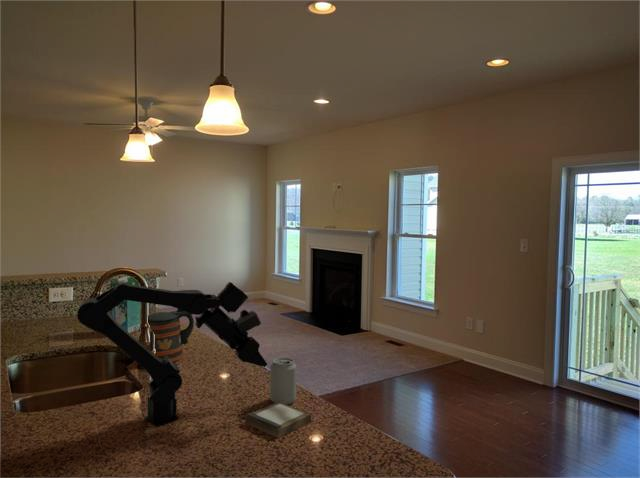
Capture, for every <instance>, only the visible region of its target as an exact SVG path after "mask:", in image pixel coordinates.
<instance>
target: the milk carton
mask: <svg viewBox="0 0 640 478" xmlns="http://www.w3.org/2000/svg"><path fill="white" fill-rule="evenodd" d="M133 277H134V276H132V277H131V276H128V275H123V276H121V277H119V278H118V279H115V280H114V281H112V282H110V283H109V290H110V289H112V288H113V287H115V286H116V285H117V284H119V283H127V284H131V285H137V286H139V284H138V282H137V281H136V280H135V279H134V278H133ZM109 312H110V313H111V315H112V316H113V318H114V319H115V321H116V322H117V323H118V324H119V325H121V326H122V327H123V328H124V329H125V330H126V331H127V332H129V333H130V332H132V331H135V330H138V329H139V327H140V328H141V302H136V301H129V300H124V301H123V302H121V303H120V304H119V305H117V306H116V307H115V308H113V309H112V310H111V311H109Z"/></svg>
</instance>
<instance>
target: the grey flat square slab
mask: <svg viewBox="0 0 640 478" xmlns="http://www.w3.org/2000/svg"><path fill="white" fill-rule="evenodd" d="M244 422H245V423H244V424H246V425H248V426H250V427H252V428H255V429H257V430H259V431H261V432H263V433H266V434H267V435H270V436H272V437H275V438H277V439H279V438H281V437H283V436H286V435H288V434H290V433H291V432H294V431H296V430H298V429H300V428H301V427H304V426H306V425H307V424H310V423H311V422H312V413H309V412H306V411H303V410H300V409H299V408H298V409H297V408H295V407H293V406H290V405H289V404H288V405H285V404H282V403H280V402H277V403H271V404H270V405H268V406H265V407H264V408H261V409H258V410H256V411H253V412H249V413H246V415H245V419H244Z"/></svg>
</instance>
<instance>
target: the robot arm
mask: <svg viewBox="0 0 640 478" xmlns="http://www.w3.org/2000/svg"><path fill="white" fill-rule="evenodd" d="M248 299H249V296H248V295H247V294H246V293H245V292H244V291H243V290H241V289H240V288H239V287H237V286H236V285H235V284H234V283H233V282H231V281H229V282H227V283H226V285H225V286H224V288H223V289H222V290H221V291H220V292H219V293H218V294H217V295H216V294H206V293H204V292H203V291H201V290H198V289H183V290H182V289H181V290H168V289H163V288H155V287H150V286H144V285H143V286H142V285H140V286H137V285H131V284H127V283H119V284H117V285H116V286H115V287H113V288H112V289H110V288H109V289H108V290H106V291H104V292H103V293H101V294H98V296H96V297H91V298H90V297H89V298H87V299H84V300H83V301H82V302H81V303H80V304H79V307H78V310H77V313H76V315H77V316H76V317H77V320H78V322H79V323H80V324H82V325H83V326H84V327H86V328H89V329H90V330H92V331H94V332H95V333H98V334H101V335H103V336H105V337H106V338H108V340H110V341H111V342H112V343H113V344H114V345H116V346H117V347H118V348H119V349H120V350H121V351H123V352H124V353H125V354H126V355H128V356H129V357H130V358H131V359H132V360H133V361H135V362H136V363H137V364H138V365H140V367H142V368H143V369H144V370H145V371H146V372H147V374H148V375H149V376H150V377H151V379H152V381H150V383H148V389H149V394H150V396H148V397H147V406H146V408H147V409H146V410H147V413H146V414H147V415H146V416H145V417H143V419H144V421H146V422H148V423H149V424H151V425H153V426H155V427H160V426H162V425H163V426H164V425H165V424H168V423H170V422H173V421H176V420H179V416H178V415H177V411H178V409H177V406H178V405H177V403H178V402H177V398H176V392H178V391H179V389H180V388H181V387H182V384H183V378H182V375H181V371H180V370H181V369H180V367H179V366H178V363H175V362H172V361H171V360H170V359H169V358H168V356H165V358H164V359H161V358H158V357H156V356H155V355H154V354H153V353H152V352H150V351H149V350H148V349H147V348H146V347H145V346H144V345H143V343H141V341H140V340H138V339H137V338H136V337H134V336H133V334H130V333H129V332H127V331H126V330H125V329H124V328H123V327H122V326H121V325H119V324H118V323H117V322H116V321H115V319H114V318H113V316H112V315H111V313H110V311H111V310H112V309H113V308H115V307H116V306H117V305H119V304H120V303H121V302H123V301H124V300H129V301H136V302H140V303H144V304H152V305H160V306H167V307H172V308H175V309H177V310H178V309H180V310H182V311H185V312H188V313H191V314H193V315H195V317H194V318H195V323H194V326H196V328H197V329H200V328H201V327H203V325H205V326H206V327H207V328H208V329H209V330H210V331H212V332H213V333H214V334H215V335H217V337H218V338H219V339H220V340H221V341H223V342H224V343H225V344H226V345H227V346H228V347H229V348H230V349H231V350H232V351H233V350H235V353H234V355H236V357H237V359H239V360H240V361H241V362H243V363H248V364H253V365H256V366H259V367H263V368H265V367H266V366H267V365H268V363H267V361H266V360H265V359H264V357H263V356H262V354H261V352H260V351H259V348H260V343H259V341H257V340H256V339H255V338H254V337H253V336H249V332H248V331H250V330H252V329H254V328H256V327H259V326H260V325H261V324H262V322H261V320H260V318H259V316H258V313H256V312H255V311H253V310H250V311H248V310H246V309H243V310H240V313H239V314H240V316H239V317H238V318H237V319H236V320H235V319H234V318H233V317H232V318H231V317H230V316H229V315H228V314H231V313H236V312H237V311H238V310H239V308H241V306H242V305H243V304H244V303H245V302H246V301H247V300H248ZM220 307H222V308H223V309H224V310H225V311H226V312H227V313H228V314H226V313H225V312H224V310H222V309H221V308H220Z"/></svg>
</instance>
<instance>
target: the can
mask: <svg viewBox="0 0 640 478" xmlns="http://www.w3.org/2000/svg"><path fill="white" fill-rule="evenodd" d="M269 367H270V369H269V370H270V376H269V377H270V378H269V379H270V380H269V381H270V383H269V384H270V385H269V386H270V387H269V391H270V392H269V393H270V394H269V397H270V398H269V399H270V400H271V402H273V404H275V403H277V402H280V403H282V404H285V405H288V406H289V405H290V404H293V402H294V401H296V399H297V364H295V360H294V359H293V358H290V357H278V358H274V359H273V360H272V364H270V366H269Z"/></svg>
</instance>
